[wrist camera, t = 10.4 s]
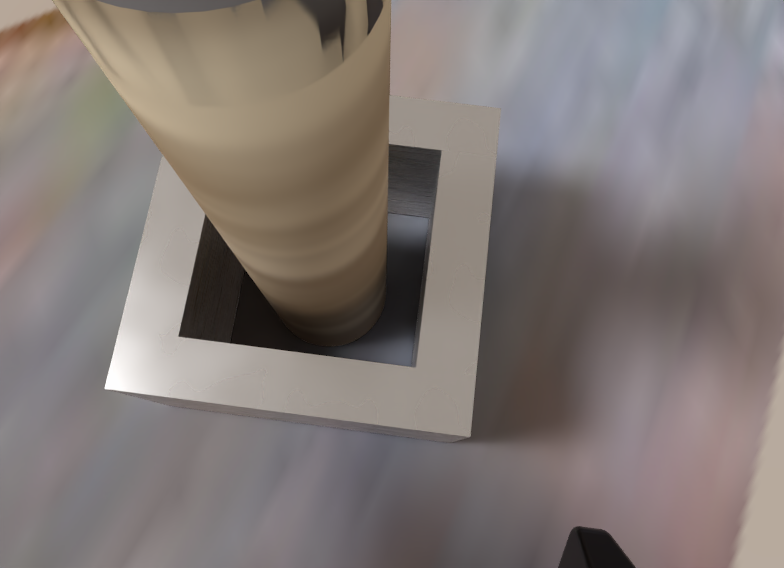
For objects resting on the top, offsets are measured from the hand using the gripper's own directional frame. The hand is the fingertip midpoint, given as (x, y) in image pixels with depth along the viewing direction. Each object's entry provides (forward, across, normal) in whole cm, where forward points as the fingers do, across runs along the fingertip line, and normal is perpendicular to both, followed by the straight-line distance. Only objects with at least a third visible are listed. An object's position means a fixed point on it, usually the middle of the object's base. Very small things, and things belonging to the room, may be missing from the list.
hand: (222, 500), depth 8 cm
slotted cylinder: (+9, 0, +2) cm, 9 cm away
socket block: (+9, 0, +2) cm, 9 cm away
